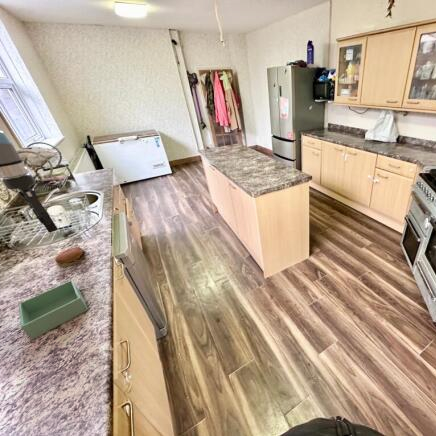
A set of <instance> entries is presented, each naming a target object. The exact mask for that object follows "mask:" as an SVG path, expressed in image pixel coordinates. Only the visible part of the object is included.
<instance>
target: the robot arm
mask: <svg viewBox="0 0 436 436" xmlns="http://www.w3.org/2000/svg"><path fill="white" fill-rule="evenodd" d="M28 167H29V164H27V163H24V161H23V159H22V157H21V156H20V154H19V153H18V151H17V149H16V148H15V146H14V145H13V142H12V141H11V140H10V139H9V138H8V136H7V135H6V133H5V132H4V131H2V130H1V129H0V179H2V180H1V181H2V183H3V185H5V188H6V189H8V190H13V191H14V190H18V192H17V193H18V194H19V196H20V197H21V198H22V199H23V200H24V201H25V203H27V205H28V206H29V208H30V209H31V211H32V212H33V214H34V215H35V217H36V219H37V220H38V221H39V223H40V224H41V225H42V224H43V226H44V228H45V229H46V231H47V232H48V233H49V234H50V233H53V232H56V231H58V230H59V229H58V227H57V225H56V223H55V222H54V221H53V219H52V218H51V216H50V213H49V212H47V210H46V209H45V207H44V205H43V204H42V203H41V201H40V198H39V196H38V195H37V192H36V191H35V189H34V188H30V186H34V185H35V184H36V183H37V181H36V180H35V178H34V177H33V175H32V174H31V173H29V172H30V171H29V169H28Z"/></svg>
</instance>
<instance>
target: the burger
mask: <svg viewBox="0 0 436 436" xmlns="http://www.w3.org/2000/svg"><path fill="white" fill-rule="evenodd" d="M86 254H87V252H86V251H85V250H84V249H83V248H82V247H80V246H75V247H71V248H67V249H64V250H63V251H61V252H60V253H59V254H58V253H57V255H56V256H55V259H54V260H55V263H56V264H57V266H58V267H63V268H66V267H69V266H72V265H73V264H76V263H78V262H80V261H82V260H83V258H85V257H86Z"/></svg>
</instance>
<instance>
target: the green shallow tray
mask: <svg viewBox="0 0 436 436" xmlns="http://www.w3.org/2000/svg"><path fill="white" fill-rule="evenodd" d="M88 310H89V307H88V305H87V304H86V302H85V298H84V297H83V295H82V293H81V291H80V289H79V287H78V286H77V285H76V283H75V282H74V280H73V279H71V280H68V281H66V282H64V283H61V284H59V285H57V286H55V287H53V288H52V287H51V288H50V289H48V290H45V291H43V292H41V293H38V294H36V295H35V296H32V297H30V298H28V299H25V300H23V301H21V302H19V303H18V312H19V321H20V328H21V329H22V330H23V332H24V333H26V334H27V336H28V337H29V338H30V339H31V340H34V339H36V338H38V337H40V336H41V335H43V334H46V333H47V332H49V331H51V330H54V329H55V328H57V327H58V326H60V325H63V324H64V323H66V322H68V321H70V320H72V319H74V318H76V317H77V316H79V315H81V314H83V313H85V312H87V311H88Z"/></svg>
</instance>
